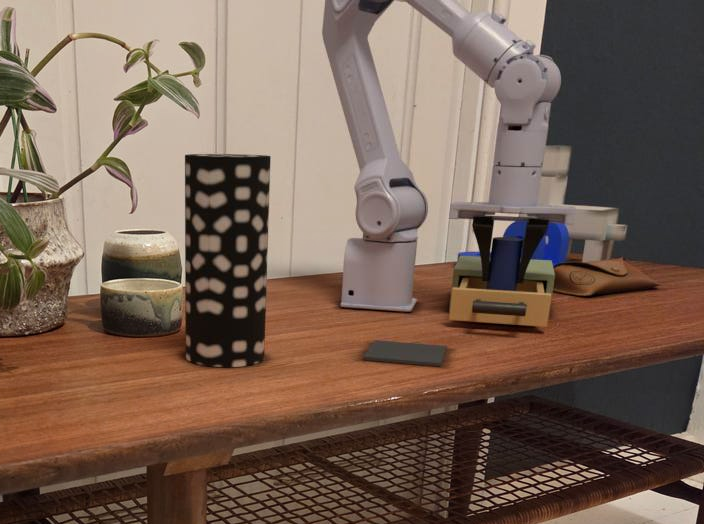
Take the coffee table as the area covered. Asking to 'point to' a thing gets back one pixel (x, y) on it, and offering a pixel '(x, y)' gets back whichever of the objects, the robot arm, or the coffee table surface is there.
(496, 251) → the dark blue cylinder
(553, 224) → the bracket
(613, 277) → the sunglasses case
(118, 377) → the coffee table surface
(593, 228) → the toy llama
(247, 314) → the white-spotted black cylinder
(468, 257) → the cabinet
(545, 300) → the drawer
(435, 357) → the mat
